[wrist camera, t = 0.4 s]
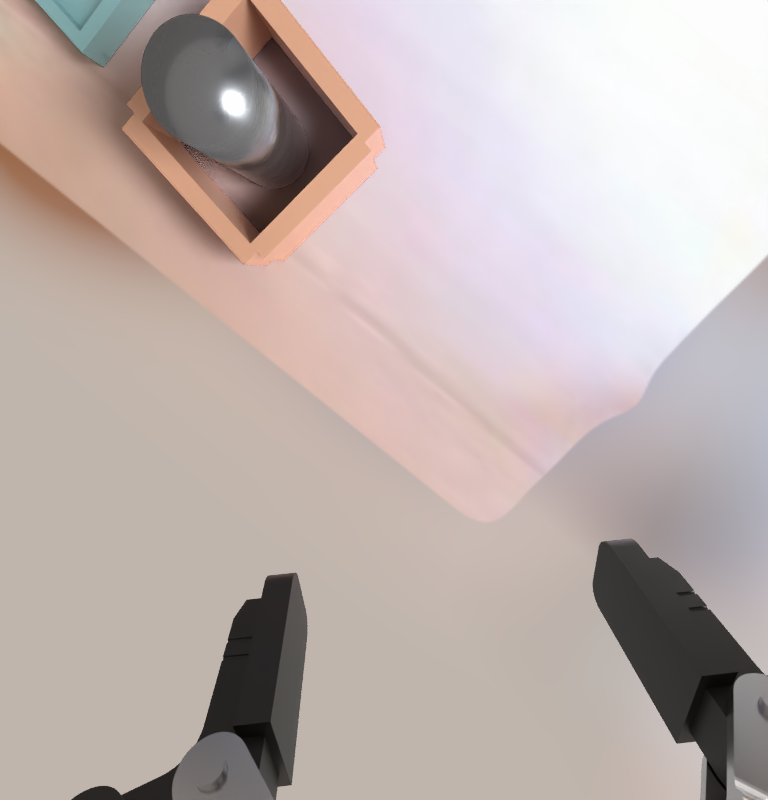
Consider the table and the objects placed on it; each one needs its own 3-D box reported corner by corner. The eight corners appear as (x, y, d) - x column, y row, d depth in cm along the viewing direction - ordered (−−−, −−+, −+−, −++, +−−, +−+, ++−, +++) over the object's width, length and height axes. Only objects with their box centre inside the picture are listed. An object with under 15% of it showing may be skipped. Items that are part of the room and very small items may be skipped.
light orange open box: (271, 4, 28) (245, -44, 24) (391, 155, 30) (387, 135, 26) (156, 141, 31) (113, 120, 26) (272, 272, 33) (250, 272, 28)
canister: (272, 88, 29) (192, -16, 19) (324, 151, 30) (275, 86, 20) (221, 145, 30) (118, 78, 20) (272, 204, 31) (200, 170, 21)
